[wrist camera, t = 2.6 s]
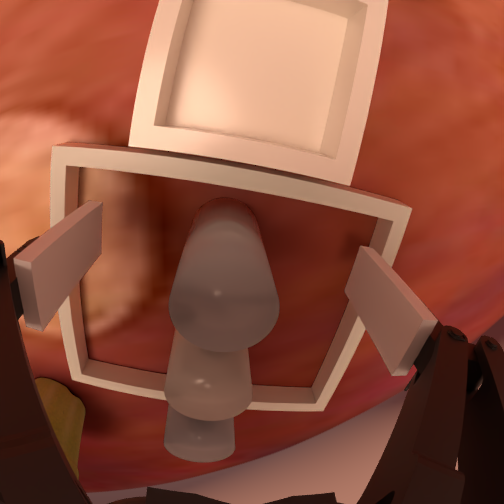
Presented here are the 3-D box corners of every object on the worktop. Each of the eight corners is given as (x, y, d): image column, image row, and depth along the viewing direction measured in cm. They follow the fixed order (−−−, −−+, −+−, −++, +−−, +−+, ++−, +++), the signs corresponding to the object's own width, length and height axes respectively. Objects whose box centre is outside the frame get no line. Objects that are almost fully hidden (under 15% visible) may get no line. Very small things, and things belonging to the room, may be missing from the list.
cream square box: (327, 172, 17) (350, 186, 14) (147, 140, 15) (128, 146, 12) (361, 14, 13) (388, -3, 10) (186, -25, 12) (178, -53, 8)
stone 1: (250, 265, 19) (265, 356, 12) (187, 255, 18) (166, 344, 11) (264, 203, 17) (291, 269, 10) (196, 192, 17) (173, 251, 10)
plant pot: (31, 412, 24) (6, 472, 16) (6, 351, 21) (-36, 418, 13) (107, 435, 26) (91, 504, 18) (93, 377, 22) (63, 462, 14)
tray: (318, 395, 24) (323, 411, 23) (79, 364, 21) (72, 379, 20) (397, 200, 18) (412, 208, 16) (67, 142, 15) (52, 145, 13)
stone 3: (226, 373, 22) (229, 464, 15) (175, 366, 22) (164, 457, 15) (235, 335, 21) (241, 432, 14) (179, 327, 20) (163, 424, 13)
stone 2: (237, 326, 21) (243, 423, 13) (180, 318, 20) (163, 415, 13) (248, 276, 19) (261, 371, 12) (185, 267, 19) (165, 359, 11)
